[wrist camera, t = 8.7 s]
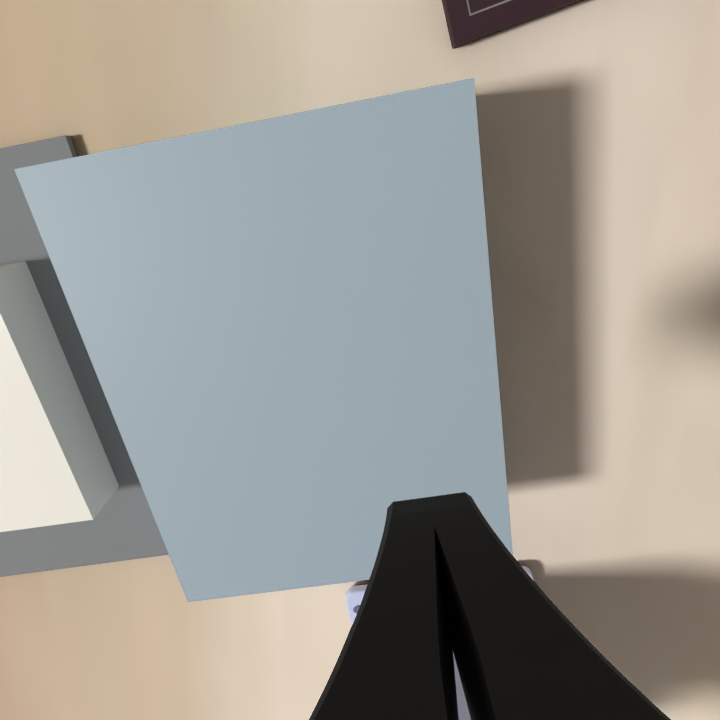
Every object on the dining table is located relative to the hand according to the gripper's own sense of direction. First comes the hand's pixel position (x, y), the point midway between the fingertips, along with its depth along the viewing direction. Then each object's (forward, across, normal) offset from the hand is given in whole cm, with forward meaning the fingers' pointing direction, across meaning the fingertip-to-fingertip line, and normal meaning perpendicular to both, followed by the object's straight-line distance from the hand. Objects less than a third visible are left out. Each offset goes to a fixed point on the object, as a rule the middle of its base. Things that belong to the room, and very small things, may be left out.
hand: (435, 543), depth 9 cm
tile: (+8, +15, -1) cm, 17 cm away
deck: (+10, +3, 0) cm, 10 cm away
